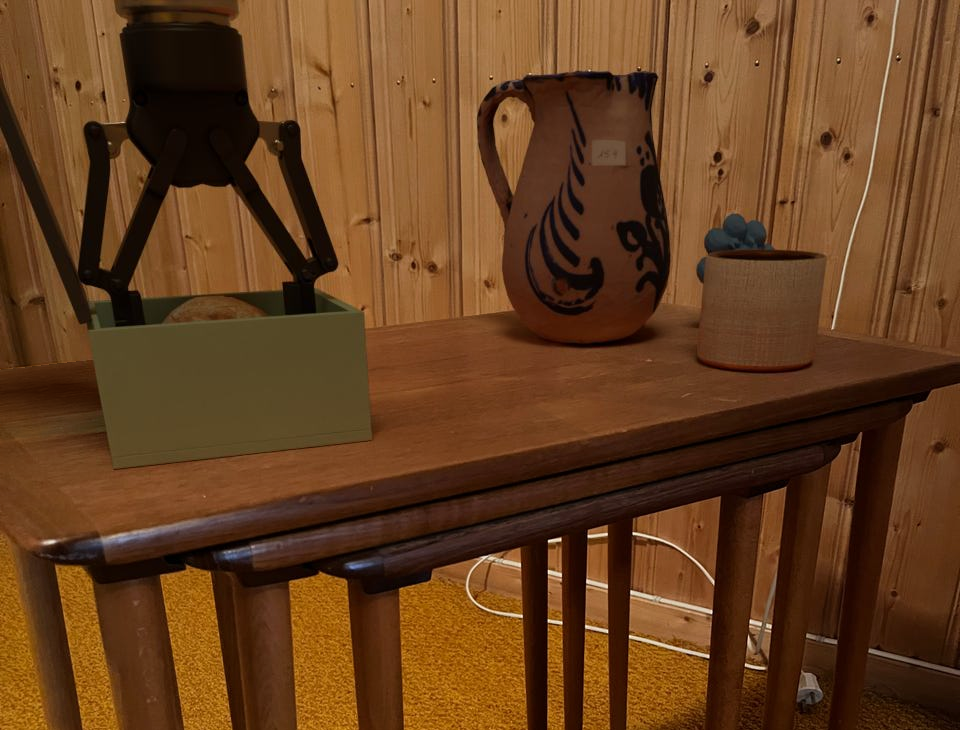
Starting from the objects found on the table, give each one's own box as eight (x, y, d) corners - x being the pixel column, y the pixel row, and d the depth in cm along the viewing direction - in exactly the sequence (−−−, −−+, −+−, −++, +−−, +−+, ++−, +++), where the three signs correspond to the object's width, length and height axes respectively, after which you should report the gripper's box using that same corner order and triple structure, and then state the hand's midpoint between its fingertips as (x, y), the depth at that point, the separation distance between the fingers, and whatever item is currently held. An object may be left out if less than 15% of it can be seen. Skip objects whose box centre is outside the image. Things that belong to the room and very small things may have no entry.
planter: (820, 355, 95) (835, 250, 91) (804, 377, 87) (820, 262, 82) (709, 348, 99) (718, 247, 95) (684, 368, 91) (692, 258, 86)
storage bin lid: (-28, 2, 63) (-41, 5, 63) (-48, -35, 51) (-64, -32, 50) (86, 293, 72) (75, 296, 72) (92, 321, 60) (79, 325, 60)
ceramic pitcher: (650, 356, 96) (668, 62, 85) (449, 347, 102) (441, 72, 91) (676, 328, 111) (694, 75, 100) (499, 321, 117) (498, 82, 106)
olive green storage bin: (325, 398, 82) (315, 287, 78) (372, 440, 70) (364, 311, 66) (104, 419, 76) (82, 301, 72) (113, 469, 64) (87, 330, 60)
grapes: (720, 337, 105) (731, 216, 100) (678, 329, 110) (687, 214, 105) (797, 327, 110) (812, 212, 105) (754, 320, 116) (766, 209, 110)
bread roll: (159, 430, 74) (98, 338, 68) (254, 352, 78) (203, 260, 72) (235, 453, 68) (175, 354, 62) (333, 368, 72) (285, 268, 66)
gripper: (-22, 11, 55) (60, 408, 64) (370, 22, 62) (389, 377, 72) (-14, 26, 61) (60, 385, 71) (341, 35, 68) (363, 360, 78)
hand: (226, 381), depth 71 cm, fingers closed on bread roll, 10 cm apart
